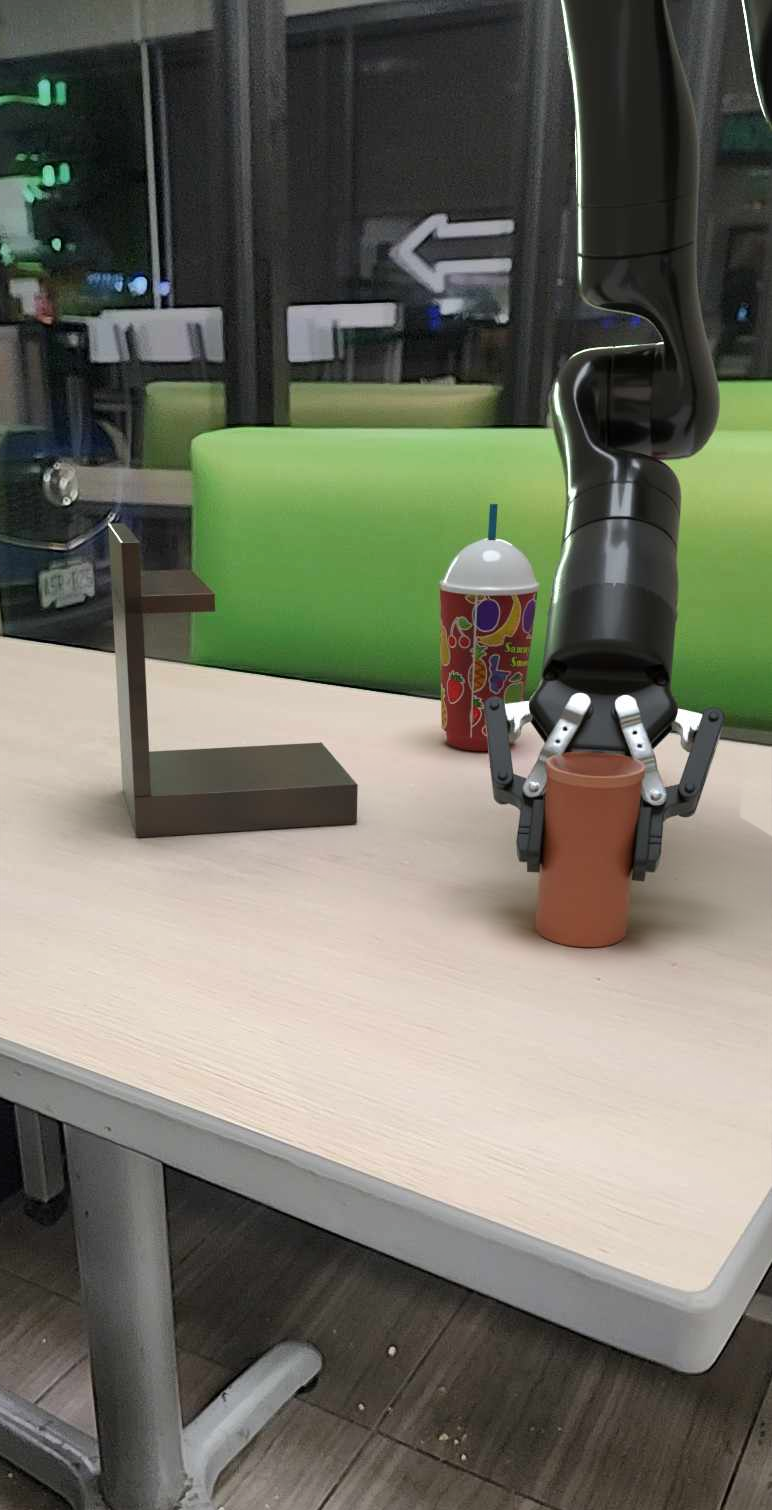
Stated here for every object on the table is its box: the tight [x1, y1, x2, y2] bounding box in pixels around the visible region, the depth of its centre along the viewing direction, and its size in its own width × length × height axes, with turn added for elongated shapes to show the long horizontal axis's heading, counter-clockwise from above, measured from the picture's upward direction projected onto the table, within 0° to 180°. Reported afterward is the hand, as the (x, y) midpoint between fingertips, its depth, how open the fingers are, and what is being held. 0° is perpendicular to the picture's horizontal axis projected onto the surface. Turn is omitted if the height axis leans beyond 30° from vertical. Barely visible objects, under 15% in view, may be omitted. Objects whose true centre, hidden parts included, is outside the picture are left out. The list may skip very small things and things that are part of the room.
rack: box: [107, 522, 359, 839], centre depth 96 cm, size 16×12×20 cm
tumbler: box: [534, 752, 646, 948], centre depth 76 cm, size 5×5×10 cm
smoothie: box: [438, 503, 541, 752], centre depth 113 cm, size 8×8×20 cm
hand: (586, 869), depth 74 cm, fingers closed on tumbler, 5 cm apart
